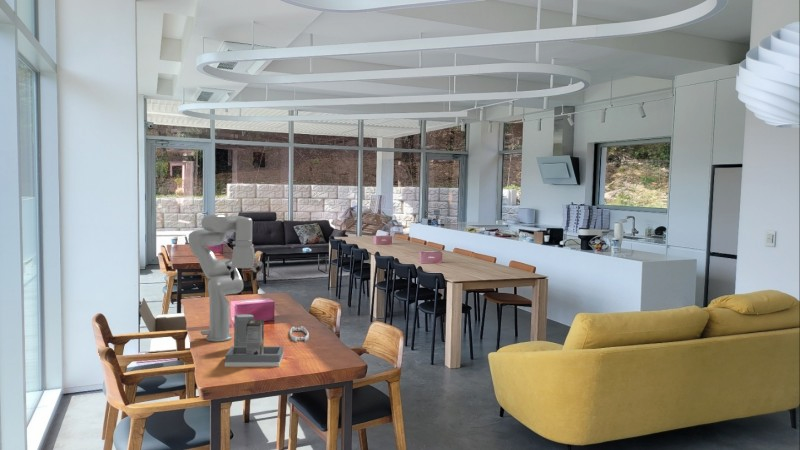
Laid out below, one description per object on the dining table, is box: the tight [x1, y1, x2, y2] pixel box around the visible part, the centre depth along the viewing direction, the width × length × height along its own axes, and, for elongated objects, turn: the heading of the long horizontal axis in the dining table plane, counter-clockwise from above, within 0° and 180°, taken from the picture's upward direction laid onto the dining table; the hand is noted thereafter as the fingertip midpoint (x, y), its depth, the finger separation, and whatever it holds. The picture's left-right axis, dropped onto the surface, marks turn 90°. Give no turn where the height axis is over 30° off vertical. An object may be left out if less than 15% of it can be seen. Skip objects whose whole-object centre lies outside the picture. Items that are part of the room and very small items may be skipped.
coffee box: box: [246, 318, 265, 355], centre depth 250 cm, size 9×6×16 cm
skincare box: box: [233, 313, 255, 346], centre depth 269 cm, size 8×7×16 cm
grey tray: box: [224, 345, 284, 368], centre depth 250 cm, size 23×16×4 cm
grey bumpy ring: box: [289, 325, 310, 343], centre depth 294 cm, size 3×10×25 cm
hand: (243, 279), depth 265 cm, fingers open, 9 cm apart
